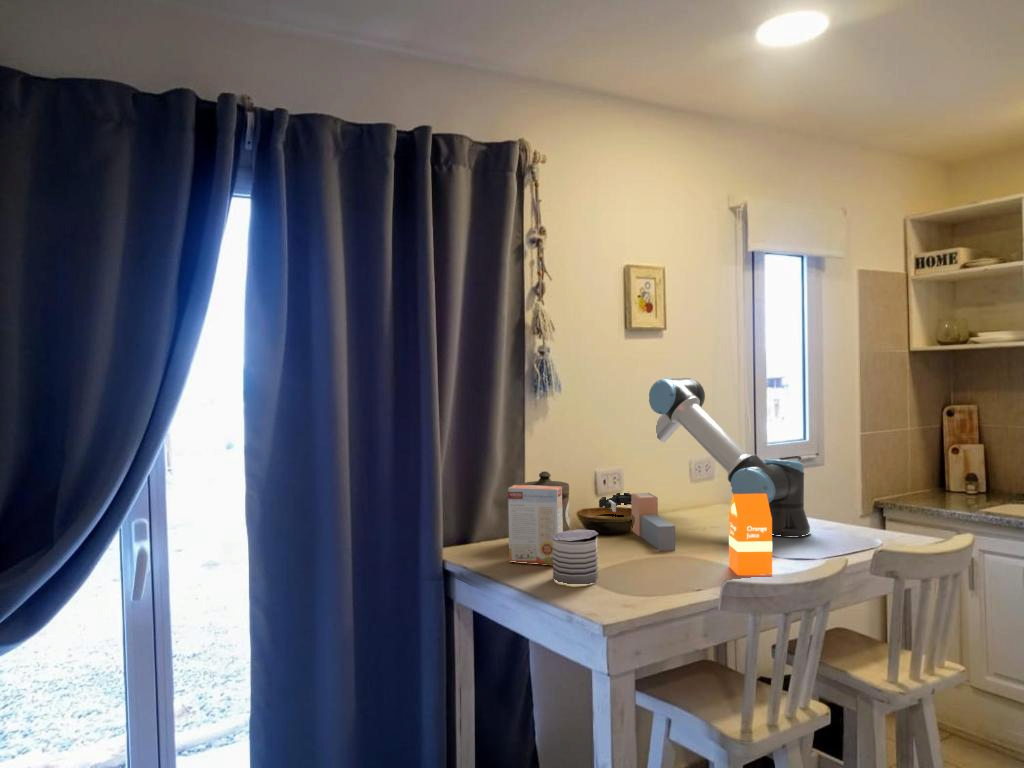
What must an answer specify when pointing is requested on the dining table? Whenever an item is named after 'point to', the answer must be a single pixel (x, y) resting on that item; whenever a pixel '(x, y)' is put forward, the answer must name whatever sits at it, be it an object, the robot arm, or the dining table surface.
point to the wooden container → (546, 481)
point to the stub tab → (643, 508)
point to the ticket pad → (658, 532)
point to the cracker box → (534, 522)
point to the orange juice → (750, 535)
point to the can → (575, 557)
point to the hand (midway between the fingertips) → (635, 507)
